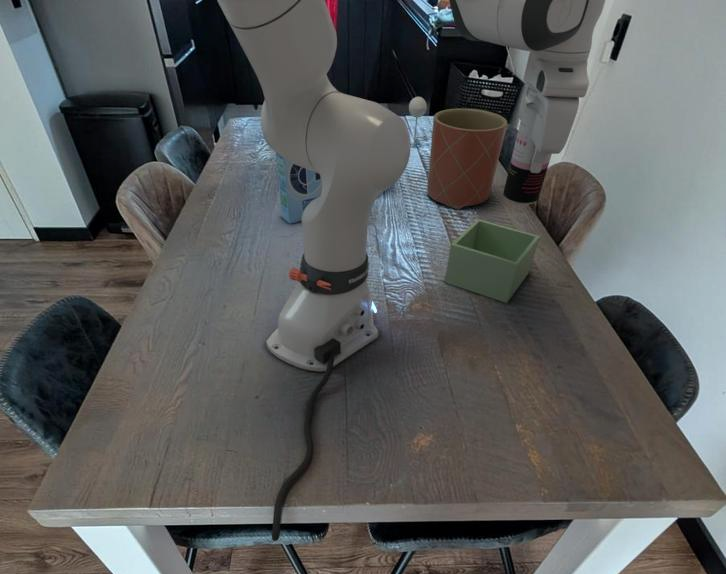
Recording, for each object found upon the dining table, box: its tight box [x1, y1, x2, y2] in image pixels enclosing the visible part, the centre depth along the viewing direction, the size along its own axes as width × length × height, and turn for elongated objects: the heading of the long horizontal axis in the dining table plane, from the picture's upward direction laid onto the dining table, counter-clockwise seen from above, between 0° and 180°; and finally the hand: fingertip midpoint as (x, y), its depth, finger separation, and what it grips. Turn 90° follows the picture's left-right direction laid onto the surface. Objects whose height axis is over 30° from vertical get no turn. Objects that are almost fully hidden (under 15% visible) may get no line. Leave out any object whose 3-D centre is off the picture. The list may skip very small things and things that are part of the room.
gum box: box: [274, 151, 322, 225], centre depth 120 cm, size 20×5×23 cm, turn 123°
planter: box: [426, 107, 508, 210], centre depth 131 cm, size 19×19×20 cm
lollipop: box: [408, 96, 428, 148], centre depth 161 cm, size 6×6×15 cm
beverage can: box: [502, 102, 553, 206], centre depth 84 cm, size 7×7×15 cm
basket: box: [444, 218, 541, 304], centre depth 104 cm, size 15×15×9 cm
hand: (529, 163), depth 85 cm, fingers closed on beverage can, 6 cm apart
